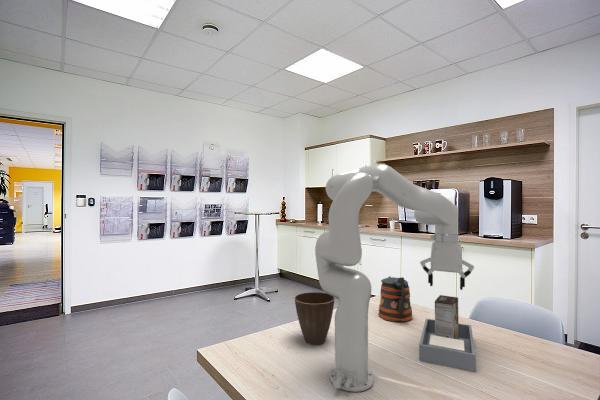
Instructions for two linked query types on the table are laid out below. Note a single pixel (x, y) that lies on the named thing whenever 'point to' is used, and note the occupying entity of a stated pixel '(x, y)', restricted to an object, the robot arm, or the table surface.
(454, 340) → the cream rectangular block
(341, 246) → the robot arm
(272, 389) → the table surface
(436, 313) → the coffee box
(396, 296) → the beer stein
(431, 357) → the tote
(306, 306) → the plant pot
